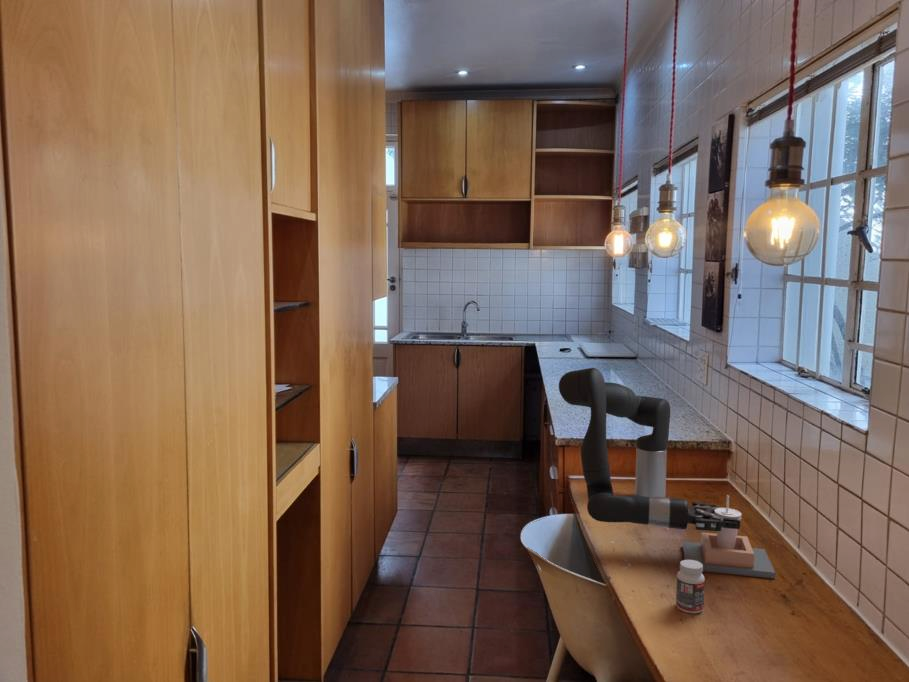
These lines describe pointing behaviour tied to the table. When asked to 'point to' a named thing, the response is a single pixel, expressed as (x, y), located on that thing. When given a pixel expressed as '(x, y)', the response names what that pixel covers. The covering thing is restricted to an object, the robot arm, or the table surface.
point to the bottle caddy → (729, 557)
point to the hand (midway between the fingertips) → (737, 519)
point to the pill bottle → (690, 587)
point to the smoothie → (727, 535)
